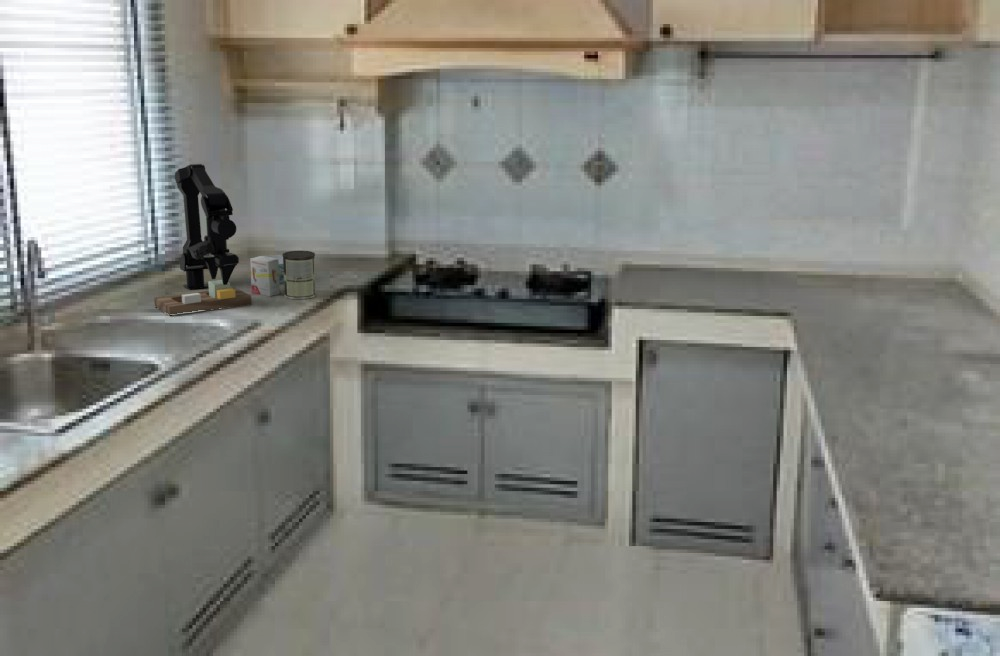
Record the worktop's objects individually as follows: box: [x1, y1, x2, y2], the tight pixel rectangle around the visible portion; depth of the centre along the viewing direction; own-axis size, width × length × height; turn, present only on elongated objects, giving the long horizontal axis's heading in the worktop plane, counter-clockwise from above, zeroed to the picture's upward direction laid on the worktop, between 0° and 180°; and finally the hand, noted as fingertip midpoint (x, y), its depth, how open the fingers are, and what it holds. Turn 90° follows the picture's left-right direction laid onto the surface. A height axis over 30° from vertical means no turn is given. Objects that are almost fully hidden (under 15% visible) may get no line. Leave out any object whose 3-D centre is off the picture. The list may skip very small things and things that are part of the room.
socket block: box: [153, 286, 253, 315], centre depth 307 cm, size 13×26×5 cm, turn 128°
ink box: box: [249, 255, 281, 297], centre depth 324 cm, size 9×5×12 cm, turn 57°
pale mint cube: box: [207, 279, 231, 298], centre depth 310 cm, size 5×5×7 cm
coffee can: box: [282, 250, 317, 300], centre depth 321 cm, size 10×10×14 cm
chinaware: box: [265, 254, 284, 284], centre depth 341 cm, size 15×15×8 cm
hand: (219, 281), depth 309 cm, fingers open, 9 cm apart
